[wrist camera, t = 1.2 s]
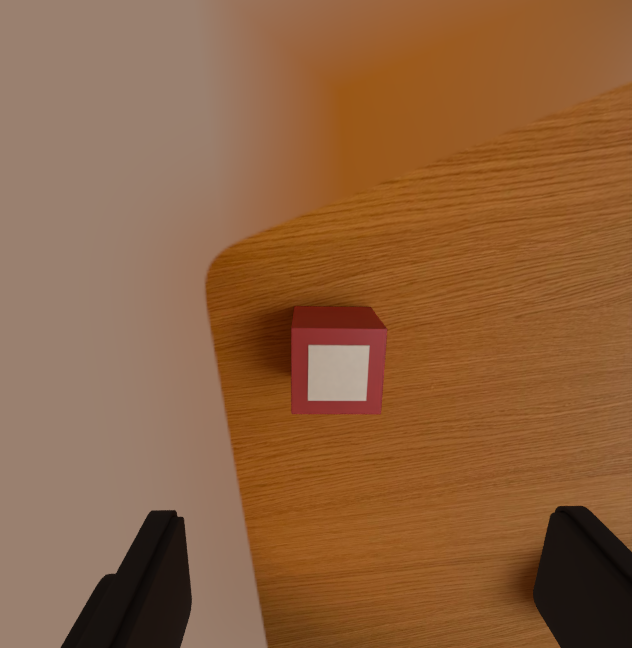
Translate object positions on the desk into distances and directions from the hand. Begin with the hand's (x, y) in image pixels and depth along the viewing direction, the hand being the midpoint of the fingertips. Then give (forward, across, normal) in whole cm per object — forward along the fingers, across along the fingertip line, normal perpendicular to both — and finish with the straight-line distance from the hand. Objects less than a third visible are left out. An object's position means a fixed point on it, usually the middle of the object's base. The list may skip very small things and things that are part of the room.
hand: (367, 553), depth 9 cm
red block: (+16, 0, 0) cm, 16 cm away
